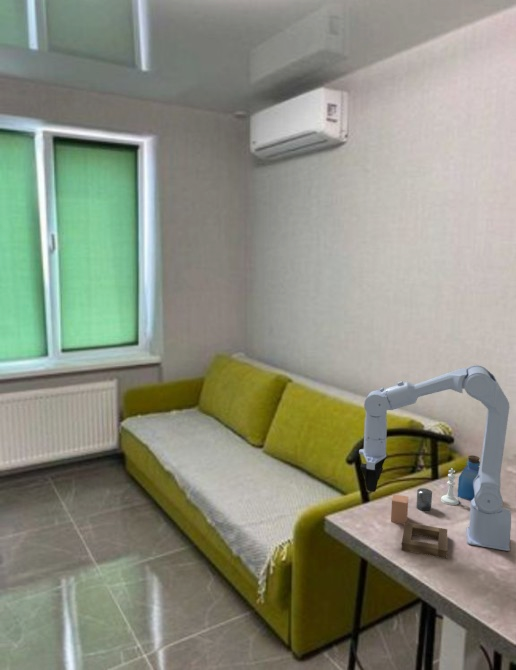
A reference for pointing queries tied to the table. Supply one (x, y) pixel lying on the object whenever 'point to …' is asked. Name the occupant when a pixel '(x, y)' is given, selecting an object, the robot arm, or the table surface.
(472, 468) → the perfume bottle
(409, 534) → the walnut collar
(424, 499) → the metal cylinder
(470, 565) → the table surface
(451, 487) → the chess piece
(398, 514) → the terracotta block
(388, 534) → the table surface
